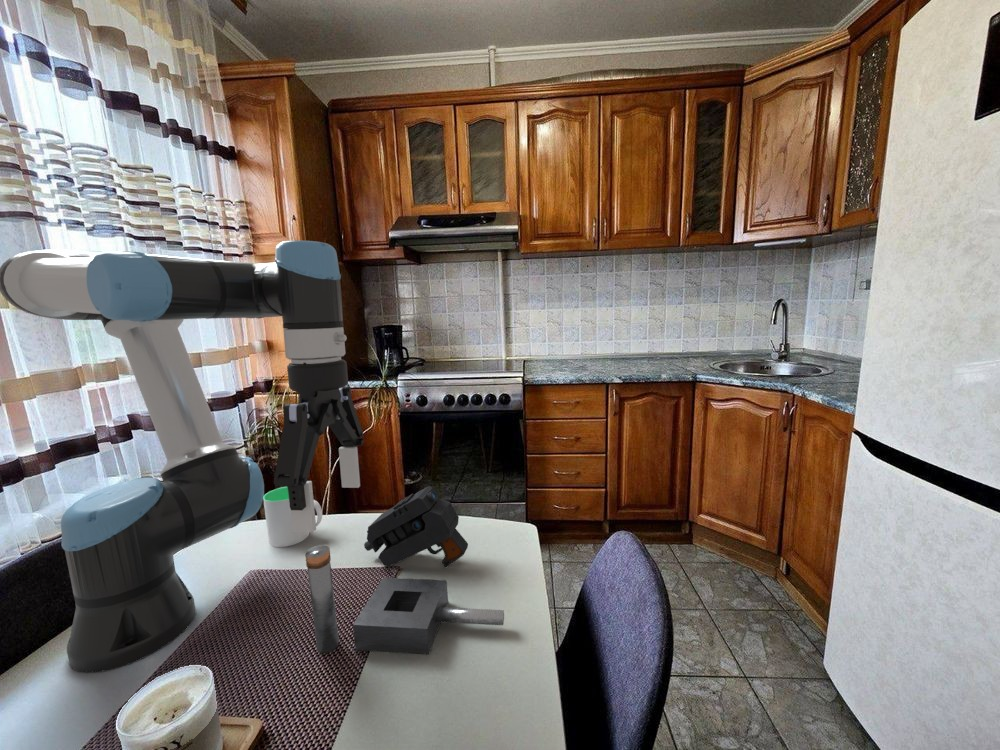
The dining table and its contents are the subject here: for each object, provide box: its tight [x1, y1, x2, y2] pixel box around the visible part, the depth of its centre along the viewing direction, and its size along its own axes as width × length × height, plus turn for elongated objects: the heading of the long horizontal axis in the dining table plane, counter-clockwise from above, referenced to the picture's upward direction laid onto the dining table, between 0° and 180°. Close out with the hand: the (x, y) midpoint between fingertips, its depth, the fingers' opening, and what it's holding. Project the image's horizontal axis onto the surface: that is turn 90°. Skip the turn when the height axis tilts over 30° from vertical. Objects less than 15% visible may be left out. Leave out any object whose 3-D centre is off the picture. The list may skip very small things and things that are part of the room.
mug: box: [262, 486, 323, 548], centre depth 94 cm, size 12×8×10 cm
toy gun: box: [363, 485, 469, 569], centre depth 83 cm, size 6×19×15 cm, turn 78°
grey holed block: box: [352, 577, 505, 656], centre depth 65 cm, size 21×11×4 cm, turn 83°
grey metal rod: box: [304, 544, 340, 655], centre depth 61 cm, size 3×3×15 cm
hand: (330, 506), depth 61 cm, fingers open, 13 cm apart
